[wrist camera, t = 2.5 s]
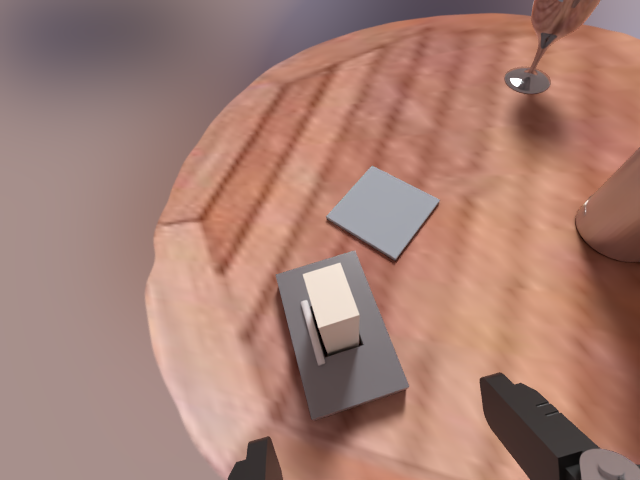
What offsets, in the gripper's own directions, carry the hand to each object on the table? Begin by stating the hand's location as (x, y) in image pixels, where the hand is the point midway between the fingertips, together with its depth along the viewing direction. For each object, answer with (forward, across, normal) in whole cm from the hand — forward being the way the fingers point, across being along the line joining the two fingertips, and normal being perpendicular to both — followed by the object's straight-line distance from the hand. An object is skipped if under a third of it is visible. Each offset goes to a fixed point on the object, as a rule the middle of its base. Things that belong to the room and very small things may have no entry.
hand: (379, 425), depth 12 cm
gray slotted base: (+25, 0, +10) cm, 27 cm away
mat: (+35, -10, 0) cm, 37 cm away
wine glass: (+48, -42, -13) cm, 65 cm away
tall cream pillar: (+25, 0, +10) cm, 27 cm away
